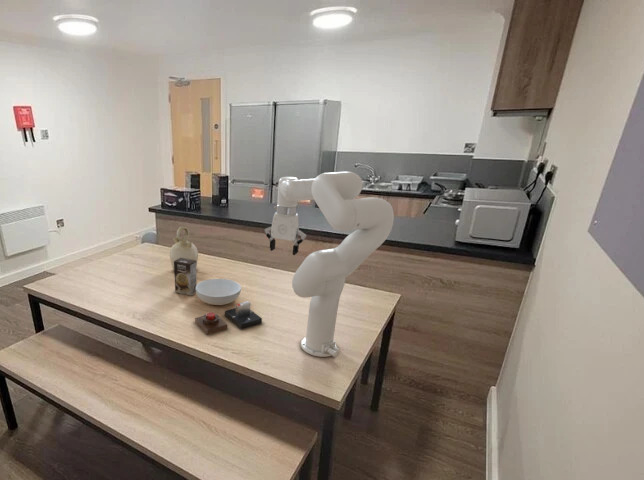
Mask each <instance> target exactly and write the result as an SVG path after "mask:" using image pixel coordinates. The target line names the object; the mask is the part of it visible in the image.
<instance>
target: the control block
mask: <svg viewBox="0 0 644 480" xmlns="http://www.w3.org/2000/svg"><path fill="white" fill-rule="evenodd" d="M206 314H207V313H205V314H204V315H201V316H198V317H195V318H194V324H196V325H197V327H199V328H200V329H201V330H202V331H203V332H204V333H205V334H206V335H212V334H216V333H219V332H222V331H225V330H228V324H227V322H225V321H224V320H223V319H222V318H221V317H220V316H219V314H217V313H215V319H213V320H208V319H207V318H206Z"/></svg>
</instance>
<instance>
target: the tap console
mask: <svg viewBox="0 0 644 480" xmlns="http://www.w3.org/2000/svg"><path fill="white" fill-rule="evenodd" d="M224 317H225V318H226V319H227V320H229V321H230V323H232V324H234V325H235V326H236V327H237V328H238V329H239V330H245V329H248V328H251V327H255V326H258V325H261V324H263V318H262V317H261V316H260V315H258V314H257V313H255V312H254V311H252V310H251V309H250V314H247V315H244V316H240V317H237V316H236V307H234V308H230V309H227V310H224Z"/></svg>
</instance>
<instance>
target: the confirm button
mask: <svg viewBox="0 0 644 480" xmlns="http://www.w3.org/2000/svg"><path fill="white" fill-rule="evenodd" d="M205 314H206V318H207V319H208V320H213V319H215V314H216V313H215V312H212V311H209V312H207V313H205Z"/></svg>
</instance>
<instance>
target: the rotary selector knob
mask: <svg viewBox="0 0 644 480" xmlns="http://www.w3.org/2000/svg"><path fill="white" fill-rule="evenodd" d="M235 308H236V316H237V317H240V316H244V315H247V314H250V310H251V302H250V301H249V300H247V301H243V302H239V303H235Z"/></svg>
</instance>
